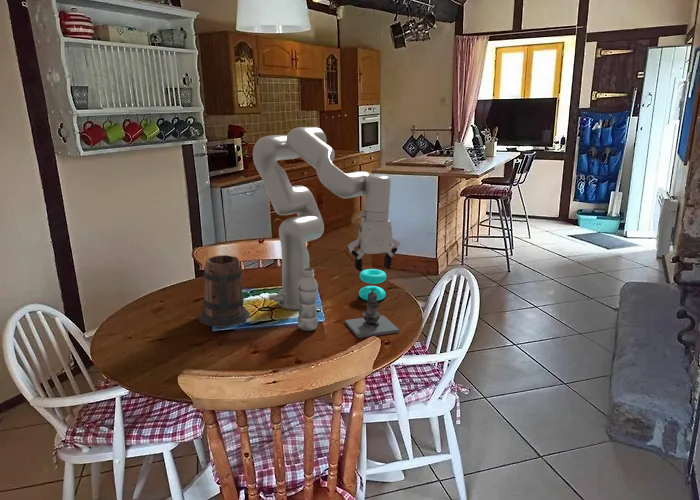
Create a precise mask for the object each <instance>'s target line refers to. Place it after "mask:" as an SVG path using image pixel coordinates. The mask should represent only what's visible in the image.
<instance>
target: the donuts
mask: <svg viewBox="0 0 700 500" xmlns="http://www.w3.org/2000/svg"><path fill="white" fill-rule="evenodd" d="M359 278H360V280H361V281H362V282H364V283H366V284H371V285H366V286H363V287H362V288H360V290H359V291H358V295H359V298H361V299H362V300H364V301H367V302H368V294H369V293H370V292H372V290H373V292H375V293H376V294H377V302H378V301H382V300H383V299H385V297H386V296H387V295H386V294H387V293H386V291H385V290H384V289H383V288H382V287H380V286H377V284H382V283H384V282H385V281H386V279H387V274H386V272H385V271H383V270H381V269H378V268H377V269H376V268H369V269H368V268H367V269H362V271H361V272H360V273H359Z"/></svg>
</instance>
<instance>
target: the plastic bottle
mask: <svg viewBox="0 0 700 500" xmlns="http://www.w3.org/2000/svg"><path fill="white" fill-rule="evenodd" d="M302 276H303V277H302V278H301V279H300V281H299V283H298V293H299V304H300V306H299V310H298V315H297V326H298V328H299V329H300V330H301V331H304V332H312V331H314V330H316V328H317V327H318V325H319V324H318V323H319V320H318V313H317V311H318V310H317V295H318V288H319V284H318V281H317V280H316V279H315V269H314V268H313V267H309V268H303V269H302Z"/></svg>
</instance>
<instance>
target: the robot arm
mask: <svg viewBox="0 0 700 500" xmlns="http://www.w3.org/2000/svg"><path fill="white" fill-rule="evenodd" d="M327 142H328V141H327V136H326V134H325V132H324V131H323V130H322V129H321V128H320V127H316V126H298V127H295V128H293V129H291V130H290V131H289V132H288V133H287V134H275V135H274V134H273V135H272V134H271V135H267V136H262V137H260V138H259V139H258V140H256V142H255V143H254V146H253V150H252V160H253V164H254V167H255V168H256V171H257V173H258V174H259V176H260V177H261V178H260V179H261V180H262V182H263V185H264V187H265V191H266V192H267V196H268V199H269V201H270V203H271V205H272V208H273V210H274V211H275V213H276V214H277V215H279V216H289V215H294V214H296V216H293V217H289V218H287V219H285V220H284V221H282V222H281V223H280V225H279V228H278V237H279V240H280V248H281V279H282V280H281V282H282V283H281V285H282V286H281V287H282V288H281V289H282V290H279V292H277V294H268V300H269V301H274V303H275V302H277V305H278V306H279V307H280V308H282V309H285V310H292V311H294V310H295V311H297V310H298V309H299V306H300V304H299V293H298V283H299V281H300V279H301V278H302V277H303V276H302V269H303V268H310V254H309V250H308V248H307V247H306V243H308V242H311V241H315V240H317V239H319V238H320V237H322V235H323V234H324V231H325V225H324V224H325V223H324V221H323V220H324V219H323V216H322V214H321V212H320V210H319V207H318V204H317V202H316V199H315V197H314V194H313V193H312V191H311V190H310V189H309V188H308V187H306V186H304V185H301V184H300V185H299V184H298V185H292V184H291V182H290V180H289V176H288V174H287V172H286V171H285V169H284V168H283V167H282V166H281V165H280V164H278V161H285V160H294V159H299V158H300V159H302V160H303V161H305V162H306V163H307V164H308V165H310V166H311V167H312V168H313V169H315V170H316V175H317V178H318V180H319V181H320V183H321V184H322V185H323V186H324V187H325V188H326V189H327V190H329V192H331V193H332V194H334V195H336V196H337V197H339V198H341V199H351V198H356V197H362V196H364V206H363V207H364V209H363V210H362V212H359V217H360V218H362V219H361V221H360V226H359V230H358V236H357V239H355V240H354V241H352V242H350V243H348V245H347V247H348V250H349V253H351V255H353V257H354V259H355V261H354V268H355V270H357V271H358V272H360V273H361V272H362V271H363V259H362V257H363V256H364V255H365V254H366V255H372V254H374V255H375V254H384V259H383V260H384V261H383V267H384V268H386V269H387V270H390V269H391V266H392V261H393V260H392V258H393V257H394V254H395V253H396V252H397V251H398V249H399V247H400V245H401V242H400V241H399V240H397V239H395V238H393V229H392V221H391V220H390V219H389V215H390V214H389V213H390V212H389V211H390V201H391V200H390V197H391V184H392V183H391V178H390V177H389V176H387V175H384V174H383V175H382V174H374V173H371V172H369V171H363V170H359V171H352V172H346V173H345V172H344V171H342V170H341V169H340V168H339V167H337V166H336V165H335V164H334V163H333V162H334V160H335V156H336V154H335V153H336V152H335V150H334V149H333V148H332V146H330V145H329V144H327ZM355 247H357V250H355ZM298 311H299V310H298Z"/></svg>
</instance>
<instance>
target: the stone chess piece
mask: <svg viewBox="0 0 700 500" xmlns="http://www.w3.org/2000/svg"><path fill="white" fill-rule="evenodd" d="M365 303H366V310H365V311H364V312H362V316H363V317H362V318H364V320H365V322H364V323H363V325H364V326H365V327H368V328H376V327H378V326H379V323H378V322H377V321H378V320H379V318H380V316H381V313H380V312H379V311H377V307H378V301H377V294H376V293H375V292H373V290H372V292H370V293H369V294H368V301H367V302H365Z"/></svg>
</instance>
